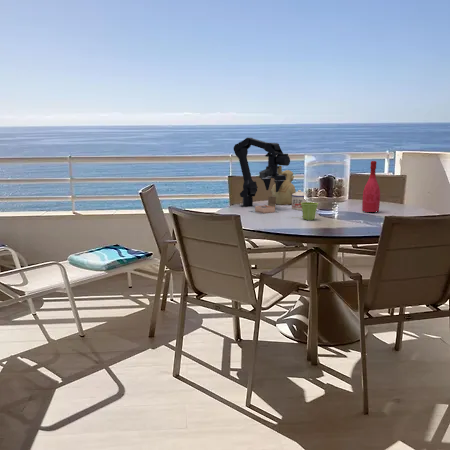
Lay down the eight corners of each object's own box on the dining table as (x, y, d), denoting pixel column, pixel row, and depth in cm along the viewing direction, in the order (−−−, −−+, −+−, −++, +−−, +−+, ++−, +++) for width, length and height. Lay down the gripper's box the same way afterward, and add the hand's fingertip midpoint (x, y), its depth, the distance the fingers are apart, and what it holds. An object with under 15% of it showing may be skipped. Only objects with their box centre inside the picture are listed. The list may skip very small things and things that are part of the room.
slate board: (247, 212, 291) (247, 211, 291) (267, 210, 298) (267, 209, 298) (260, 215, 281) (260, 214, 281) (280, 213, 288) (280, 212, 288)
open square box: (255, 211, 290) (255, 206, 289) (266, 210, 294) (266, 205, 293) (263, 213, 283) (263, 208, 282) (274, 212, 287) (275, 207, 287)
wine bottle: (360, 212, 295) (363, 161, 289) (362, 210, 304) (366, 160, 298) (378, 213, 291) (381, 161, 286) (379, 211, 300) (383, 160, 295)
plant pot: (299, 217, 277) (299, 201, 275) (316, 217, 277) (317, 202, 275) (300, 220, 268) (301, 204, 266) (318, 220, 268) (319, 204, 266)
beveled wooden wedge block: (267, 210, 301) (268, 196, 299) (273, 209, 303) (273, 196, 301) (270, 210, 299) (270, 197, 298) (275, 210, 301) (275, 196, 300)
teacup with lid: (289, 210, 302) (290, 190, 300) (292, 207, 310) (293, 188, 308) (309, 211, 298) (310, 191, 296) (312, 209, 306) (313, 189, 304)
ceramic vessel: (300, 203, 331) (302, 164, 326) (288, 206, 314) (289, 166, 309) (277, 200, 339) (278, 163, 334) (264, 204, 323) (264, 165, 318)
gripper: (252, 163, 299) (251, 190, 302) (271, 166, 284) (270, 193, 287) (267, 163, 305) (266, 189, 308) (287, 165, 290) (286, 192, 293)
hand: (272, 191), depth 299 cm, fingers open, 9 cm apart
